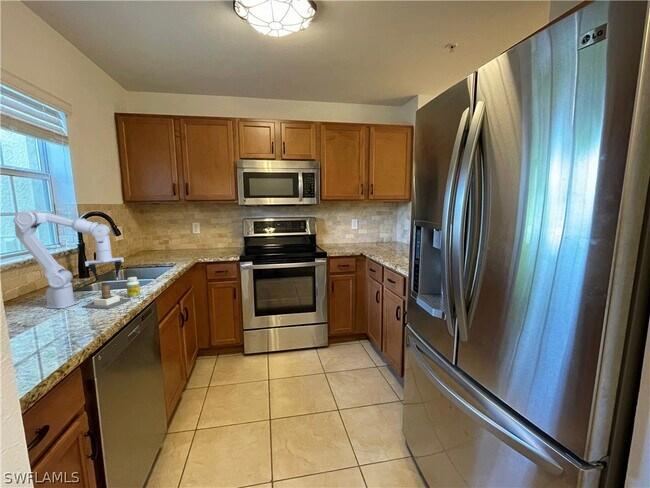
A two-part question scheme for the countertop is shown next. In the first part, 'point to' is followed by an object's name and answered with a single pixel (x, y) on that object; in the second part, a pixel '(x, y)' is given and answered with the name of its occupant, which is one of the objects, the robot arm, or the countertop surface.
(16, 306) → the countertop surface
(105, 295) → the walnut peg
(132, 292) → the supplement bottle
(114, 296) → the peg socket
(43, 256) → the robot arm
